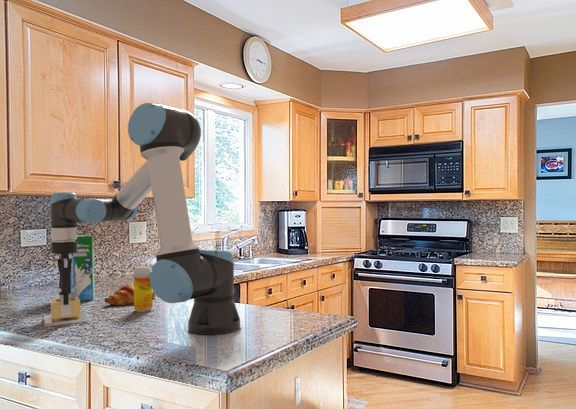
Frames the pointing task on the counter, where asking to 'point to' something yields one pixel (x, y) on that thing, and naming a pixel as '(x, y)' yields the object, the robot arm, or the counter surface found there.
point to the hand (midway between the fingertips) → (65, 311)
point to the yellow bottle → (142, 289)
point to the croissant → (123, 296)
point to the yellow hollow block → (57, 308)
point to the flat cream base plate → (64, 320)
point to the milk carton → (83, 269)
